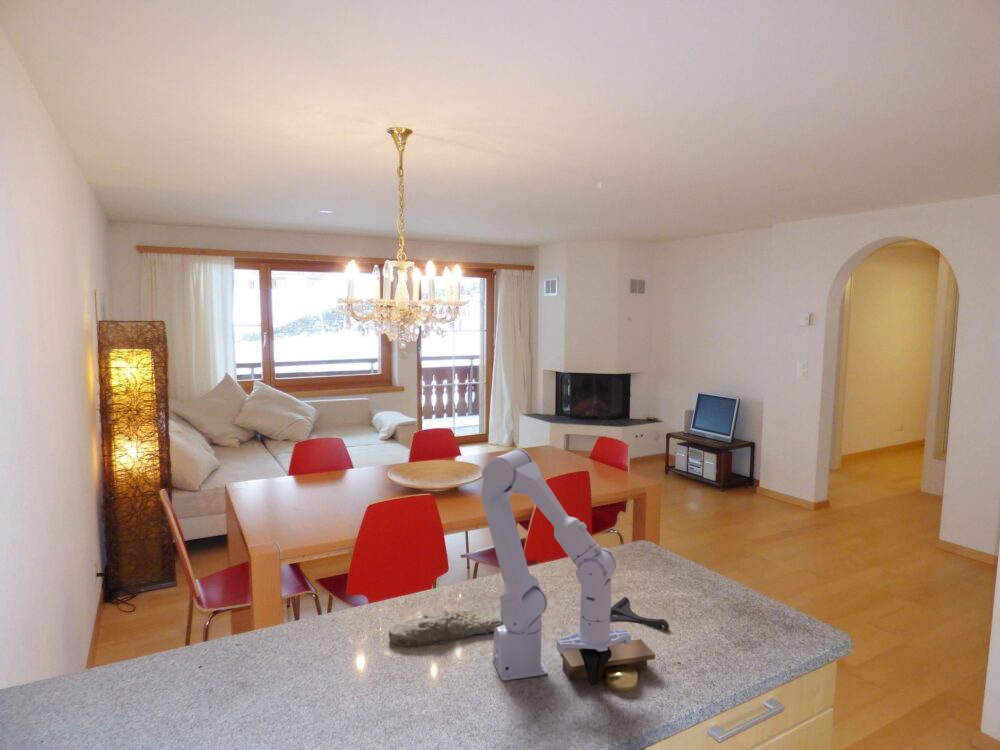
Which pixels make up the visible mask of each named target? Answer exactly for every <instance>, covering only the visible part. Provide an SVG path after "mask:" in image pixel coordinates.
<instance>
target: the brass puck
mask: <svg viewBox="0 0 1000 750" xmlns="http://www.w3.org/2000/svg"><path fill="white" fill-rule="evenodd" d="M638 678H639V677H638V671H637V669H636V670H635V669H634V668H633V667H631V666H629V665H626V664H619V665H612V666H608V667H607V669H606V674H605V685H606V686H607V688H608V689H610V690H612V691H613V692H614V691H615V692H616V693H622V694H628V693H632V692H635V691H636V689H637V687H638Z"/></svg>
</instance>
